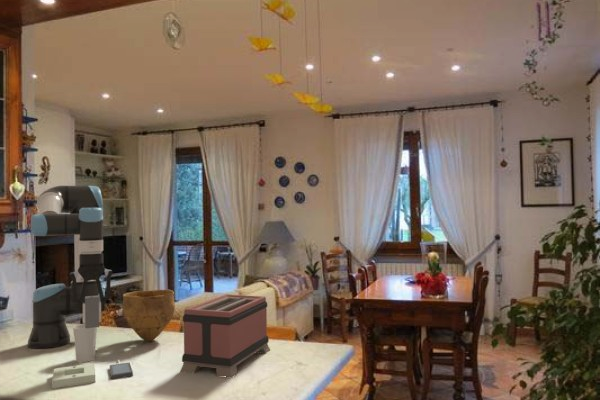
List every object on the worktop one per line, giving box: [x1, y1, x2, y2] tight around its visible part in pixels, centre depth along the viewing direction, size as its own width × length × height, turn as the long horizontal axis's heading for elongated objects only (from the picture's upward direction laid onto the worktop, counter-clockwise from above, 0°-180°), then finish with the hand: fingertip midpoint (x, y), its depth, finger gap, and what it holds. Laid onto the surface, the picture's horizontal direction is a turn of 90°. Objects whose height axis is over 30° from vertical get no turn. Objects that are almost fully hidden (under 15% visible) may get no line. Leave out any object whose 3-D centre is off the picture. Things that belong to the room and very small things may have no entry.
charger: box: [84, 296, 100, 329], centre depth 165 cm, size 4×4×10 cm
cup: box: [72, 323, 98, 363], centre depth 175 cm, size 8×8×12 cm
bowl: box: [122, 289, 176, 342], centre depth 198 cm, size 21×20×20 cm
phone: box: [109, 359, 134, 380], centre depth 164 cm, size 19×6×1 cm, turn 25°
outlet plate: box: [51, 362, 96, 389], centre depth 155 cm, size 12×12×3 cm
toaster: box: [179, 293, 271, 379], centre depth 173 cm, size 19×34×21 cm, turn 160°
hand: (91, 321), depth 165 cm, fingers closed on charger, 4 cm apart
